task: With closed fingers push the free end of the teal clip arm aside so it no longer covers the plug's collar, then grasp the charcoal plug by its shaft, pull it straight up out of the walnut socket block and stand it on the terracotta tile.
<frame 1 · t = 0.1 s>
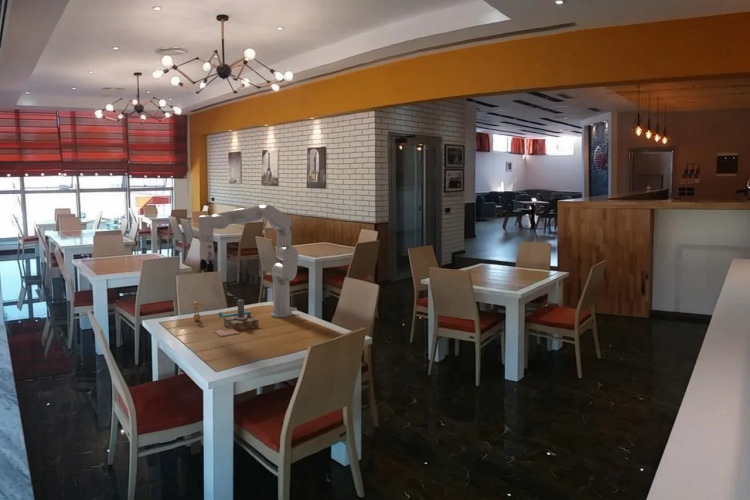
hand: (206, 270, 309), 31 cm above the table, fingers open, 9 cm apart
tile: (226, 333, 300), on the table
plug: (241, 326, 314), resting in socket block
clip: (235, 313, 314), point 7 cm above the table, hinge at 0.0°
figurine: (196, 321, 324), on the table
socket block: (241, 326, 314), on the table
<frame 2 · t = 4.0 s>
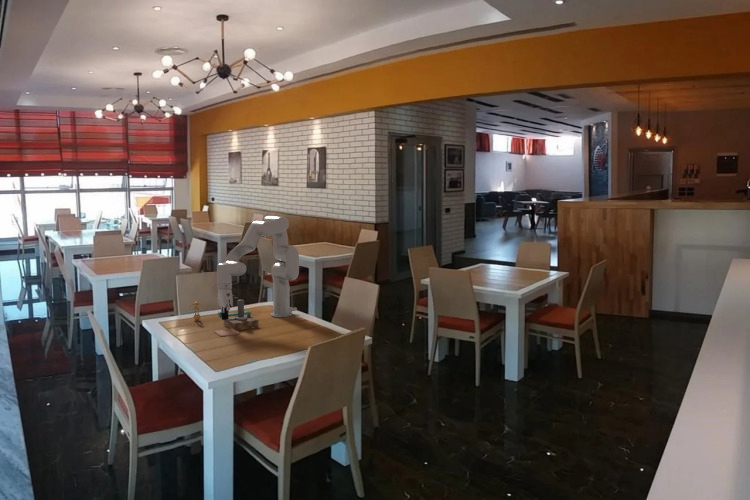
hand: (225, 319, 309), 5 cm above the table, fingers closed
clip: (234, 312, 315), point 7 cm above the table, hinge at -2.2°, touching gripper
everything else where it was.
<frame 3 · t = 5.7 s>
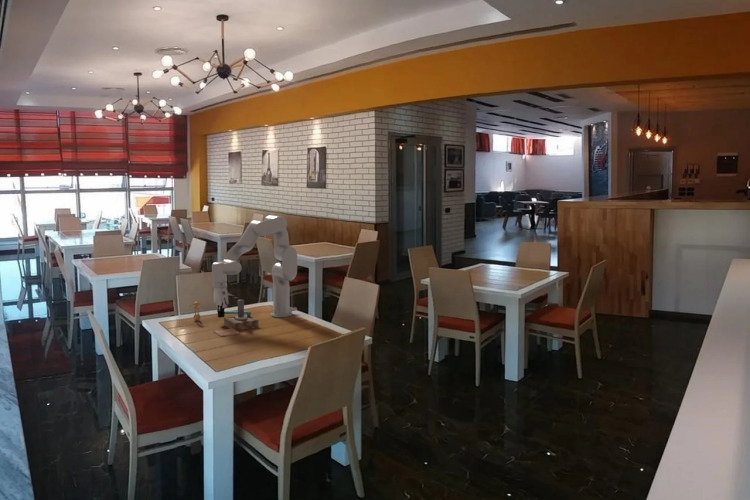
hand: (221, 317, 316), 4 cm above the table, fingers closed
clip: (234, 311, 319), point 7 cm above the table, hinge at -33.4°, touching gripper
everything else where it was.
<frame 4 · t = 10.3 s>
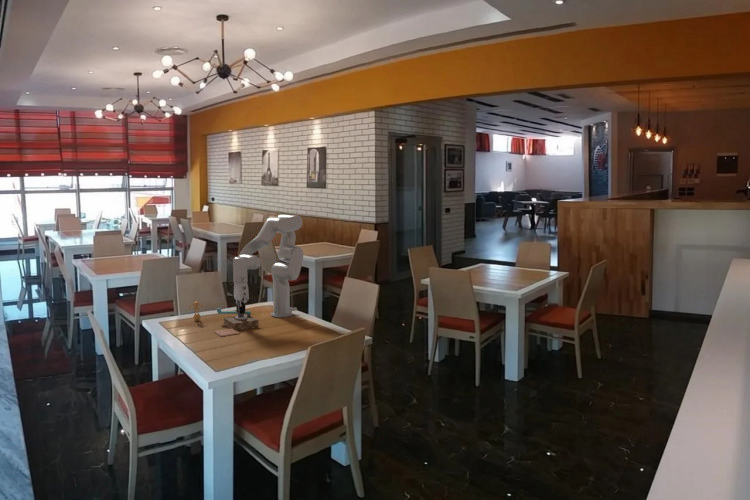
hand: (240, 312, 313), 8 cm above the table, fingers closed on plug, 3 cm apart
plug: (241, 326, 314), resting in socket block, touching gripper
clip: (234, 311, 319), point 7 cm above the table, hinge at -34.4°
everything else where it was.
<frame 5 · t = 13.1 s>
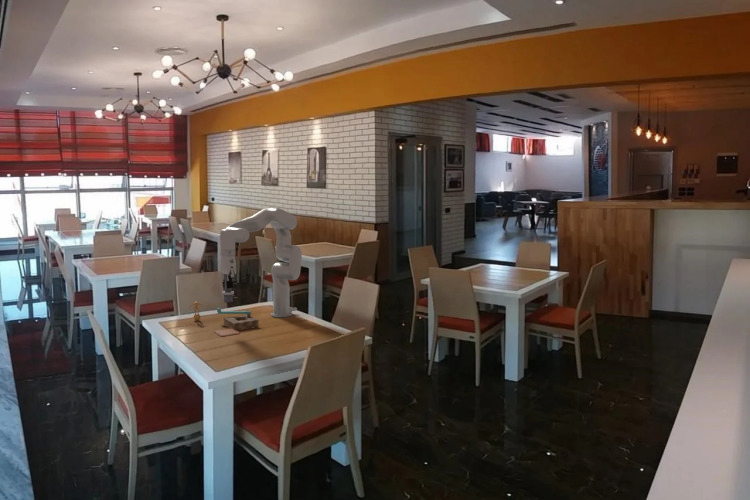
hand: (228, 287, 299), 24 cm above the table, fingers closed on plug, 3 cm apart
plug: (228, 301, 300), point 16 cm above the table, touching gripper
everything else where it was.
when the fingers open (10 cm above the table, at t = 16.1 s): plug drops 1 cm, resting on tile.
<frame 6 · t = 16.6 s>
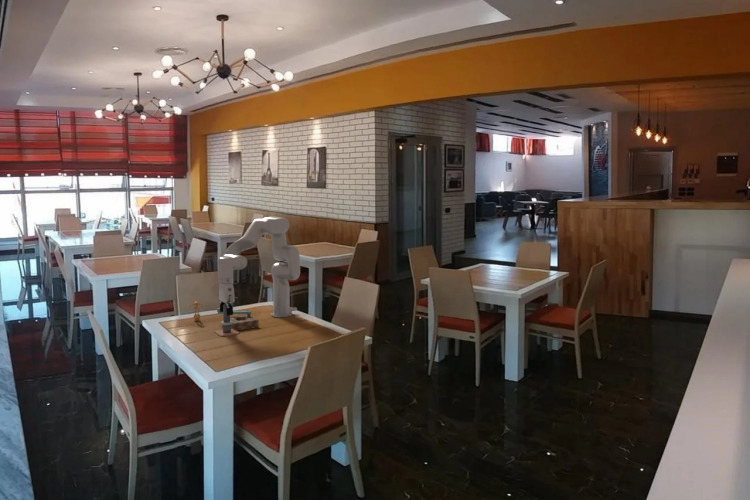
hand: (226, 313, 299), 11 cm above the table, fingers open, 8 cm apart
plug: (226, 331, 300), point 1 cm above the table, touching tile
everything else where it was.
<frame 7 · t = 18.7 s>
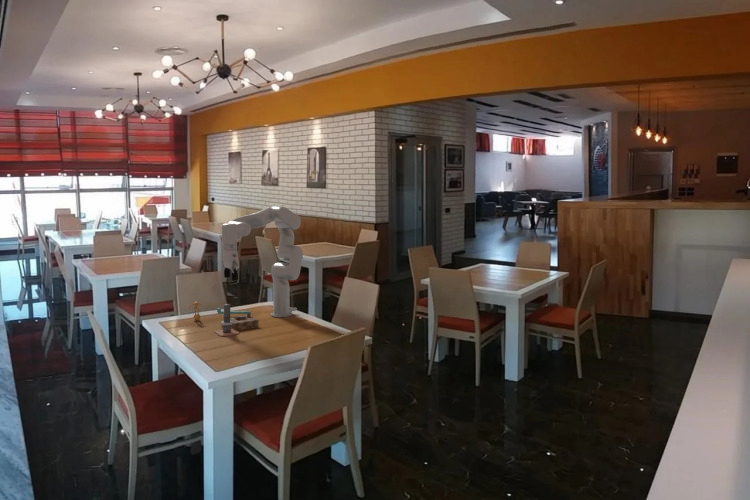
hand: (231, 278, 304), 28 cm above the table, fingers open, 9 cm apart
nothing on the table moved.
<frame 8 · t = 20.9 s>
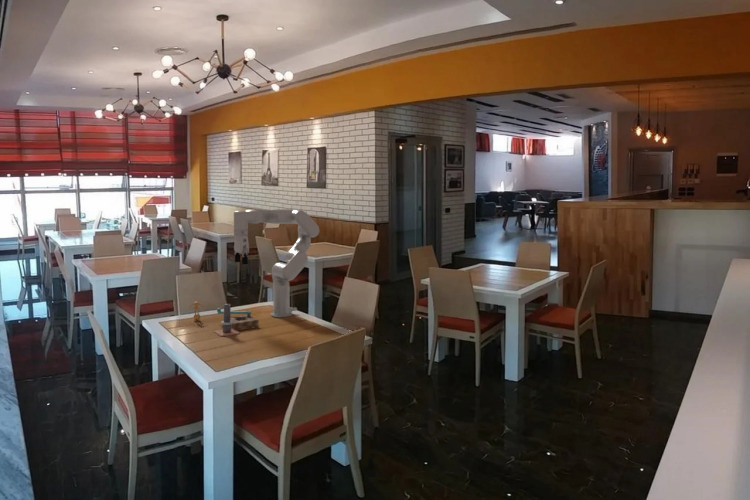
hand: (241, 263, 321), 33 cm above the table, fingers open, 9 cm apart
nothing on the table moved.
at the end: clip at -34° (first picture: +0°); plug inside the target area on the tile (0.1 cm from its centre), point 0.7 cm above the tile's base; the gripper is holding nothing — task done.
